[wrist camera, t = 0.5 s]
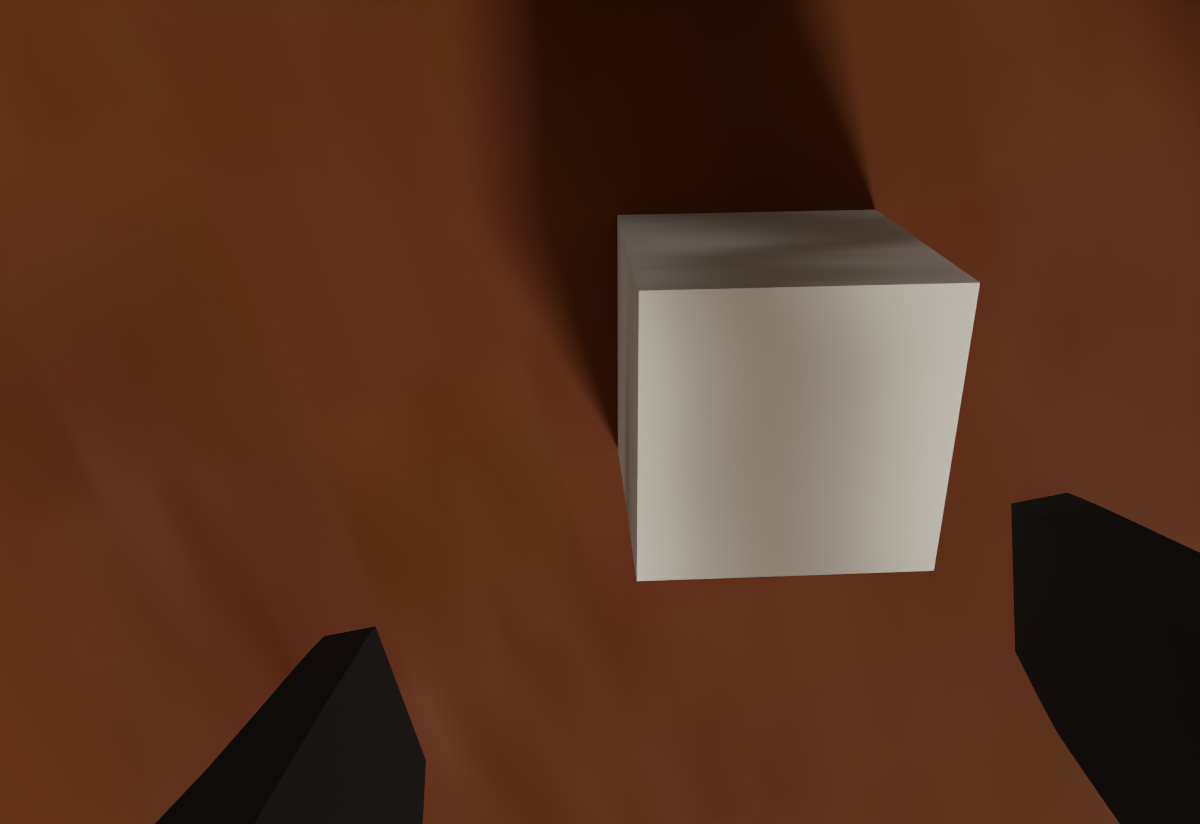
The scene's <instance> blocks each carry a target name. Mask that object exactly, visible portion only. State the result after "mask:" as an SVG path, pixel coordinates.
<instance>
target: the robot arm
mask: <svg viewBox="0 0 1200 824" xmlns="http://www.w3.org/2000/svg"><path fill="white" fill-rule="evenodd" d="M1011 509H1012V547H1013V584H1014V621H1015V652H1016V654H1017V656H1018V658H1019V660H1020V662H1021V664H1022V666H1023V668H1024V670H1025V672H1026V674H1027V676H1028V678H1029V680H1030V682H1031V684H1032V686H1033V688H1034V690H1035V692H1036V694H1037V696H1038V697H1039V699H1040V701H1041V703H1042V705H1043V707H1044V709H1045V710H1046V712H1047V714H1048V716H1049V718H1050V720H1051V722H1052V724H1053V725H1054V727H1055V729H1056V731H1057V733H1058V734H1059V736H1060V737H1061V739H1062V740H1063V742H1064V743H1065V745H1066V746H1067V748H1068V749H1069V751H1070V752H1071V754H1072V755H1073V756H1074V758H1075V759H1076V761H1077V762H1078V764H1079V765H1080V767H1081V768H1082V770H1083V771H1084V773H1085V774H1086V775H1087V777H1088V778H1089V780H1090V781H1091V783H1092V784H1093V786H1094V787H1095V789H1096V790H1097V792H1098V793H1099V794H1100V796H1101V797H1102V799H1103V800H1104V802H1105V803H1106V805H1107V806H1108V807H1109V809H1110V810H1111V812H1112V813H1113V815H1114V816H1115V817H1116V819H1117V820H1118V822H1119V823H1120V824H1200V553H1199V552H1197V551H1195V550H1193V549H1190V548H1188V547H1186V546H1184V545H1182V544H1180V543H1178V542H1175V541H1173V540H1171V539H1169V538H1167V537H1165V536H1163V535H1161V534H1158V533H1156V532H1154V531H1152V530H1150V529H1148V528H1146V527H1144V526H1141V525H1139V524H1137V523H1135V522H1133V521H1131V520H1129V519H1126V518H1124V517H1122V516H1120V515H1118V514H1116V513H1113V512H1111V511H1109V510H1107V509H1105V508H1102V507H1100V506H1098V505H1096V504H1094V503H1091V502H1089V501H1087V500H1084V499H1082V498H1079V497H1077V496H1074V495H1072V494H1069V493H1064V494H1059V495H1054V496H1048V497H1043V498H1038V499H1033V500H1028V501H1023V502H1017V503H1012V504H1011ZM425 765H426V760H425V757H424V754H423V752H422V749H421V746H420V744H419V741H418V738H417V736H416V733H415V731H414V728H413V725H412V723H411V720H410V717H409V715H408V712H407V709H406V707H405V704H404V701H403V699H402V696H401V693H400V691H399V688H398V685H397V683H396V680H395V677H394V675H393V672H392V669H391V667H390V664H389V661H388V659H387V656H386V653H385V651H384V648H383V645H382V643H381V640H380V637H379V635H378V632H377V629H376V627H370V628H365V629H360V630H355V631H350V632H344V633H339V634H334V635H329V636H324V637H323V638H322V639H321V640H320V641H319V642H318V643H317V644H316V645H315V646H314V647H313V648H312V649H311V650H310V652H309V653H308V654H307V655H306V656H305V657H304V658H303V659H302V660H301V662H300V663H299V664H298V665H297V666H296V667H295V668H294V670H293V671H292V672H291V673H290V674H289V675H288V676H287V678H286V679H285V680H284V681H283V682H282V683H281V685H280V686H279V687H278V688H277V689H276V690H275V692H274V693H273V694H272V695H271V696H270V697H269V699H268V700H267V701H266V702H265V703H264V704H263V706H262V707H261V708H260V709H259V710H258V711H257V713H256V714H255V715H254V716H253V717H252V718H251V719H250V721H249V722H248V723H247V724H246V725H245V726H244V727H243V728H242V730H241V731H240V732H239V733H238V734H237V735H236V736H235V738H234V739H233V740H232V741H231V742H230V743H229V744H228V746H227V747H226V748H225V749H224V750H223V751H222V752H221V754H220V755H219V756H218V757H217V758H216V759H215V760H214V762H213V763H212V764H211V765H210V766H209V767H208V768H207V769H206V771H205V772H204V773H203V774H202V775H201V776H200V777H199V778H198V779H197V780H196V781H195V782H194V783H193V784H192V785H191V786H190V788H189V789H188V790H187V791H186V792H185V793H184V794H183V795H182V796H181V797H180V798H179V799H178V800H177V801H176V802H175V803H174V804H173V805H172V806H171V808H170V809H169V810H168V811H167V812H166V813H165V814H164V815H163V816H162V817H161V818H160V819H159V820H158V821H157V822H156V823H155V824H422V821H423V807H424V786H425Z"/></svg>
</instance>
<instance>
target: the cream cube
mask: <svg viewBox="0 0 1200 824" xmlns="http://www.w3.org/2000/svg"><path fill="white" fill-rule="evenodd" d="M617 264H618V452H619V459H620V466H621V473H622V480H623V487H624V494H625V501H626V508H627V515H628V523H629V530H630V537H631V544H632V551H633V558H634V565H635V572H636V579H637V581H655V580H683V579H711V578H740V577H768V576H796V575H825V574H853V573H881V572H910V571H934V566H935V560H936V554H937V548H938V541H939V535H940V529H941V523H942V516H943V510H944V504H945V498H946V491H947V485H948V479H949V473H950V466H951V460H952V454H953V448H954V442H955V435H956V429H957V423H958V417H959V410H960V404H961V398H962V392H963V385H964V379H965V373H966V367H967V360H968V354H969V348H970V342H971V335H972V329H973V323H974V317H975V311H976V304H977V298H978V292H979V286H980V282H978V281H977V280H975V279H974V278H973V277H971V276H970V275H968V274H967V273H965V272H964V271H963V270H961V269H960V268H958V267H957V266H955V265H954V264H953V263H951V262H950V261H948V260H947V259H945V258H944V257H943V256H941V255H940V254H938V253H937V252H935V251H934V250H933V249H931V248H930V247H928V246H927V245H925V244H924V243H922V242H921V241H920V240H918V239H917V238H915V237H914V236H912V235H911V234H910V233H908V232H907V231H905V230H904V229H902V228H901V227H900V226H898V225H897V224H895V223H894V222H892V221H891V220H890V219H888V218H887V217H885V216H884V215H882V214H881V213H880V212H878V211H877V210H834V211H785V212H737V213H689V214H641V215H617Z"/></svg>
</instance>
